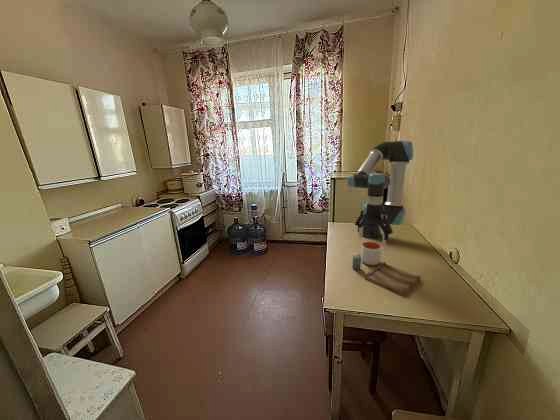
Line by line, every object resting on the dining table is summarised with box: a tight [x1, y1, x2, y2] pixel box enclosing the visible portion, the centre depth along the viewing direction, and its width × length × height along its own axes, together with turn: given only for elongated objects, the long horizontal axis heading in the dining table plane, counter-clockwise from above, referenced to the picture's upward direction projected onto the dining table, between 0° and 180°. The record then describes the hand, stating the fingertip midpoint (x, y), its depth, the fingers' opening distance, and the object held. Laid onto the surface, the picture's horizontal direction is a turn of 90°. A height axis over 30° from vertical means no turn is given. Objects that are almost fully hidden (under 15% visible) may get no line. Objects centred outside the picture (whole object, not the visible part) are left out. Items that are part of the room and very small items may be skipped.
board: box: [364, 262, 422, 297], centre depth 108 cm, size 18×18×2 cm
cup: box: [360, 241, 383, 266], centre depth 124 cm, size 10×10×10 cm
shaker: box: [351, 252, 362, 272], centre depth 118 cm, size 4×4×9 cm
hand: (371, 241), depth 122 cm, fingers open, 13 cm apart
